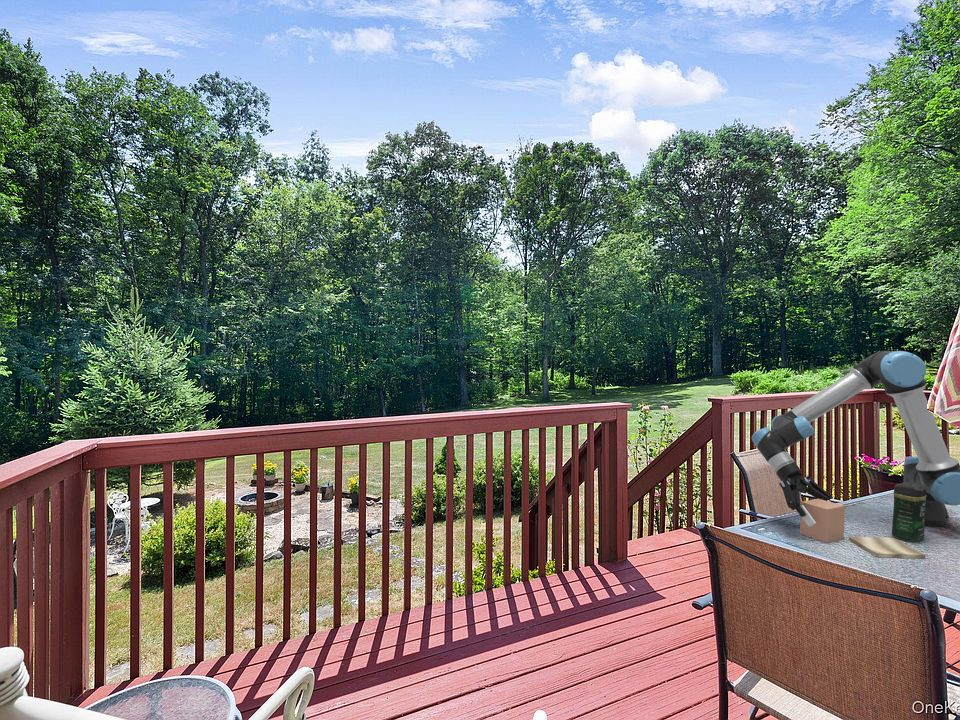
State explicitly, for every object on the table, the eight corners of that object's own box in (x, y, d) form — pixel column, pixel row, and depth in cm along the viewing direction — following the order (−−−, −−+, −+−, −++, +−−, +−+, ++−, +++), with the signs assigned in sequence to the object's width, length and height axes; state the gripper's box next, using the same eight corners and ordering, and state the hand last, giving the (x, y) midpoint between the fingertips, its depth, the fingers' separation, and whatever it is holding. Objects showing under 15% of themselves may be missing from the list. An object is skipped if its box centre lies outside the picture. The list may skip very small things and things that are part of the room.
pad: (894, 541, 179) (894, 538, 179) (925, 558, 165) (925, 554, 165) (848, 540, 180) (849, 536, 180) (876, 557, 166) (876, 553, 166)
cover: (817, 530, 189) (818, 498, 189) (843, 538, 181) (844, 505, 181) (800, 533, 186) (801, 501, 185) (826, 542, 177) (827, 509, 177)
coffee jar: (917, 544, 176) (919, 487, 175) (888, 537, 183) (890, 482, 182) (928, 538, 182) (930, 483, 181) (899, 531, 188) (901, 478, 187)
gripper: (800, 469, 203) (840, 522, 190) (754, 476, 192) (793, 532, 179) (815, 458, 198) (857, 511, 185) (768, 465, 187) (809, 521, 174)
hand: (825, 522), depth 182 cm, fingers open, 13 cm apart
